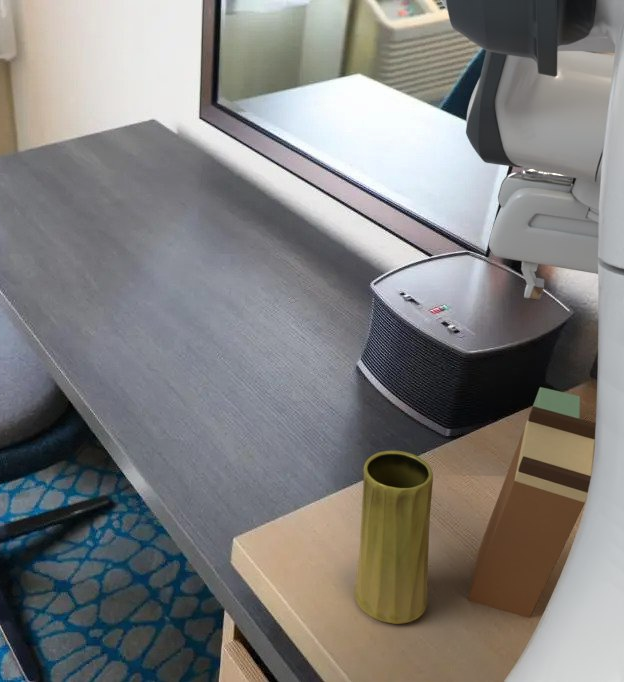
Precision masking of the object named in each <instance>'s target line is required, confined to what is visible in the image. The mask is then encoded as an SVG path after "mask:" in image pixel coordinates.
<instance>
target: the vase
mask: <svg viewBox="0 0 624 682" xmlns="http://www.w3.org/2000/svg"><path fill="white" fill-rule="evenodd" d="M362 470H363V471H362V475H363V476H362V477H363V478H362V480H363V482H362V499H361V516H360V519H361V520H360V533H359V534H360V535H359V536H360V537H359V551H358V560H357V572H356V583H355V585H354V590H353V591H354V592H353V594H354V599H355V601H356V603H357V605H358V606H359V608H360V609H361V610H362V611H363V612H364V613H365V614H367V615H368V616H370V617H371V618H373V619H375V620H377V621H380V622H384V623H388V624H395V625H397V624H407V623H411V622H413V621H414V622H415V620H417V619H419V618H420V617H421V616H422V615H423V614H424V613H425V611H426V609H427V605H428V601H429V598H428V580H429V579H428V575H429V543H430V523H431V521H430V520H431V509H432V507H431V506H432V505H431V504H432V498H433V497H432V494H433V483H434V473H433V469H432V468H431V466H430V464H429V462H427V461H426V460H424V459H423V458H422V457H420V456H418V455H416V454H413V453H410V452H407V451H401V450H385V451H379V452H376V453H375V454H373V455H371V456H370V457H369V458H367V460H366V461H365V463H364V465H363V469H362Z"/></svg>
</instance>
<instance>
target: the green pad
mask: <svg viewBox="0 0 624 682" xmlns="http://www.w3.org/2000/svg"><path fill="white" fill-rule="evenodd" d="M533 406H535V407H538V408H542V409H546V410H549V411H553V412H557V413H560V414H564V415H568V416H571V417H575V418H579V419H581V418H580V417H581V416H580V415H581V396H580V395H576V394H572V393H567V392H563V391H559V390H555V389H550V388H547V387H546V388H545V387H542V386H540V387H539V388H538V391H537V394H536V396H535V399H534V402H533V404H532V407H533Z"/></svg>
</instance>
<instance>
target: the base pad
mask: <svg viewBox="0 0 624 682" xmlns="http://www.w3.org/2000/svg"><path fill="white" fill-rule="evenodd" d="M524 425H525V426H524V428H523V431H522V433H521V436H520V439H519V442H518V444H517V447H516V450H515V452H514V455H513V457H512V459H511V463H510V465H509V467H508V470H507V473H506V476H505V478H504V481H503V484H502V486H501V489H500V492H499V494H498V497H497V500H496V502H495V505H494V508H493V510H492V512H491V515H490V518H489V521H488V523H487V526H486V528H485V531H484V534H483V537H482V539H481V541H480V545H479V548H478V551H477V555H476V558H475V565H474V568H473V574H472V579H471V584H470V588H469V592H468V598H467V601H468V602H472V603H475V604H479V605H482V606H486V607H489V608H493V609H496V610H500V611H503V612H507V613H511V614H513V615H517V616H521V617H523V618H524V617H525V618H528V619H530V618H531V617H532V614H533V612H534V610H535V608H536V605H537V604H538V601H539V600H540V597H541V595H542V593H543V592H544V589H545V587H546V585H547V583H548V581H549V579H550V577H551V574H552V573H553V571H554V568H555V566H556V565H557V562H558V560H559V558H560V555H561V554H562V552H563V550H564V548H565V545H566V543H567V542H568V539H569V537H570V535H571V533H572V531H573V529H574V526H575V524H576V523H577V520H578V518H579V517H580V514H581V512H582V510H583V509H584V507H585V503H586V499H587V494H588V489H589V484H590V479H591V474H592V469H593V459H594V450H595V429H596V422H594V421H589V420H585V419H582V418H580V419H579V418H575V417H571V416H568V415H564V414H560V413H557V412H553V411H549V410H546V409H542V408H538V407H535V406H533V405H532V407H531V409H530V411H529V415H528V418H527V420H526V423H525V424H524Z"/></svg>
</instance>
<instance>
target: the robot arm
mask: <svg viewBox="0 0 624 682" xmlns="http://www.w3.org/2000/svg"><path fill="white" fill-rule="evenodd" d="M440 2H441V4H442V6H444V8H445V9H446V11H447V14H448V19H449V22H450V25H451V27H452V29H453V30H455V31H456V32H457V33H460V34H461V35H462V36H463V37H465V38H466V39H467V40H469V41H471V42H472V43H474V44H475V45H477V46H479V47H480V48H482V49H483V50H485V54H484V59H483V63H482V67H481V71H480V76H479V78H478V80H477V81H476V82H477V83H476V84H475V87H474V89H473V91H472V94H471V97H470V100H469V103H468V107H467V112H466V128H465V135H466V137H467V139H468V141H469V144H470V145H471V146H472V148H473V149H474V151H475V152H476V154H477V155H478V156H479V158H480V159H481V160H482V162H483V163H485V164H493V165H498V166H506V167H513V168H522V170H517V171H513V172H510V173H509V174H507V175H506V176H505V177H504V178H503V180H502V181H501V184H500V187H499V191H498V195H497V201H498V204H499V206H500V209H499V211H498V212H497V216H496V217H495V220H494V223H493V226H492V229H491V233H490V237H489V241H488V248H489V250H490V251H491V253H492V255H493V256H494V257H496V258H500V259H506V260H513V261H518V262H521V267H520V270H521V272H522V275H523V278H524V280H525V283H526V285H525V288H524V292H523V293H524V294H523V298H524V299H529V300H535V301H541V298H542V294H543V292H544V289H545V279H544V278H542V277H537V276H536V273H535V272H537V270H538V267H539V265H541V266H548V267H554V268H560V269H567V270H572V271H577V272H585V273H590V274H596V275H598V276H597V277H598V278H597V281H598V282H597V283H598V295H597V297H598V300H597V301H598V307H597V308H598V311H597V313H598V317H597V318H598V324H597V325H598V327H597V328H598V331H597V333H598V334H597V339H598V340H597V345H598V346H597V381H596V407H595V408H596V409H595V423H596V429H595V442H594V452H593V462H592V472H591V479H590V484H589V489H588V494H587V499H586V502H585V504H584V506H583V512H582V514H581V517H580V520H579V523H578V528H577V530H576V533H575V536H574V539H573V541H572V545H571V548H570V550H569V553H568V556H567V558H566V561H565V563H564V566H563V568H562V570H561V572H560V575H559V578H558V580H557V582H556V585H555V587H554V588H553V592H552V594H551V596H550V598H549V601H548V603H547V604H546V607H545V609H544V612H543V613H542V615H541V617H540V619H539V621H538V624H537V625H536V627H535V629H534V630H533V633H532V635H531V637H530V639H529V641H528V643H526V646H525V648H524V650H523V651H522V653H521V654H520V656H519V658H518V660H517V661H516V662H515V664H514V666H513V668H511V670H510V672H509V673H508V674H507V676H506V677H505V679H504V681H503V682H624V0H440ZM613 54H614V55H613Z"/></svg>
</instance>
